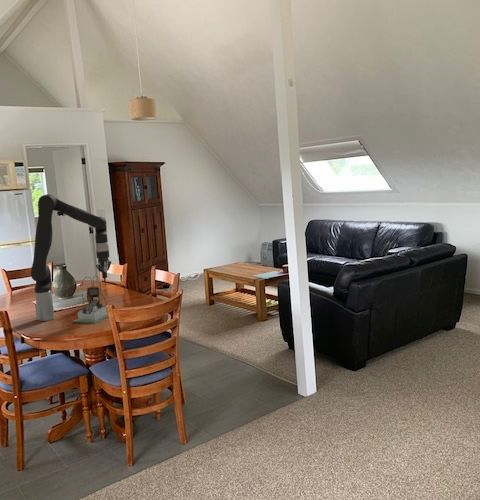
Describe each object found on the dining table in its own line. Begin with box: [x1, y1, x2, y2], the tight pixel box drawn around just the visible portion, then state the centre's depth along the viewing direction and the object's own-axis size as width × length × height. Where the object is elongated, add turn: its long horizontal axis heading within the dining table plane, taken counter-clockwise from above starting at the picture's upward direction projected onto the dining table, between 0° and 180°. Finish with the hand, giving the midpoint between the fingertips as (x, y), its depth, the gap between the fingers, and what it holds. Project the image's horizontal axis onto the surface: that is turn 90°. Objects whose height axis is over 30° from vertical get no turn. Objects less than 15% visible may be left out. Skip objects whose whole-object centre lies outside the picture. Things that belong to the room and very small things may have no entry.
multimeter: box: [81, 275, 108, 307], centre depth 319 cm, size 15×10×20 cm
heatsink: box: [72, 303, 109, 324], centre depth 296 cm, size 16×19×7 cm
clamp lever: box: [85, 297, 99, 313], centre depth 294 cm, size 12×3×2 cm
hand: (104, 277), depth 302 cm, fingers closed
